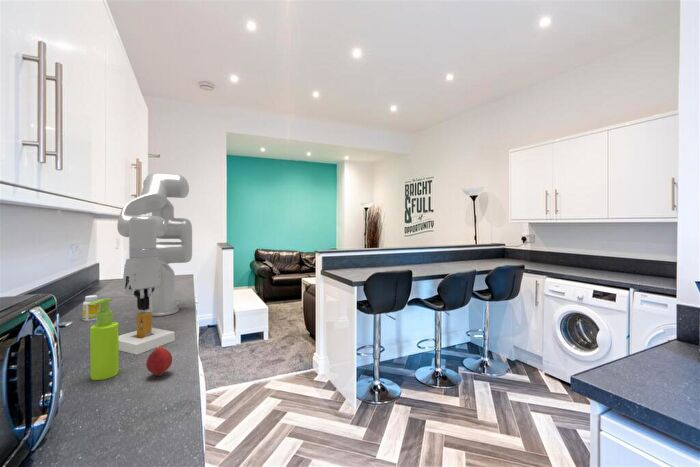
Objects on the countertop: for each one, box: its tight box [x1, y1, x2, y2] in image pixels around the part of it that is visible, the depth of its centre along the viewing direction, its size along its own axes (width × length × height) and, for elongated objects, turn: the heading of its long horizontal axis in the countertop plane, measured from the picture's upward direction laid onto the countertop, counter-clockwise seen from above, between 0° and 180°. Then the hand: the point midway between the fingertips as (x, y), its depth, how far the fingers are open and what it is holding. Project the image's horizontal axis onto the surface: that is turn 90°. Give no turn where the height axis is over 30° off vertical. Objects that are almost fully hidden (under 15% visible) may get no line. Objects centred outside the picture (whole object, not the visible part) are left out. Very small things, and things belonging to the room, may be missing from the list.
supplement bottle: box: [82, 294, 100, 322], centre depth 132 cm, size 5×5×10 cm
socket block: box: [119, 327, 176, 355], centre depth 105 cm, size 13×13×3 cm
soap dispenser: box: [87, 297, 120, 381], centre depth 83 cm, size 6×7×20 cm
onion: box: [145, 345, 173, 377], centre depth 84 cm, size 6×6×8 cm
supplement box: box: [136, 311, 153, 339], centre depth 106 cm, size 3×3×10 cm
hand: (143, 309), depth 106 cm, fingers closed
